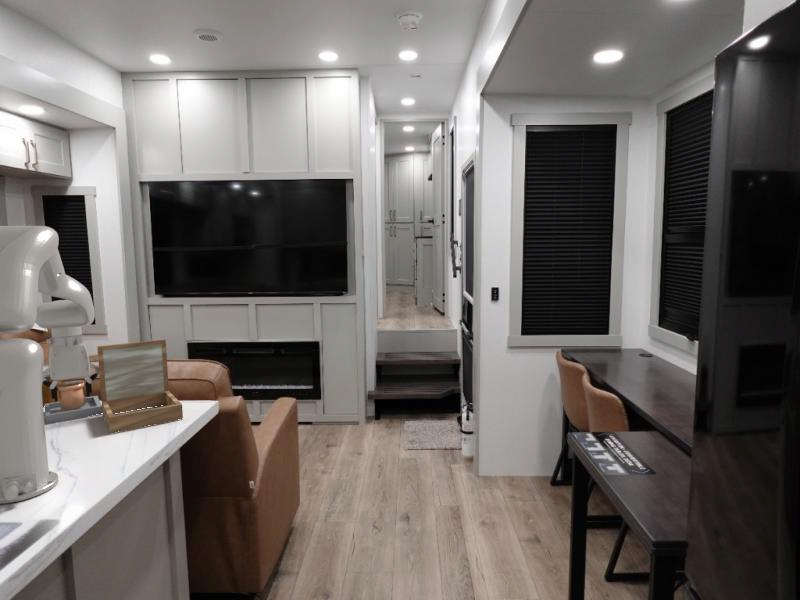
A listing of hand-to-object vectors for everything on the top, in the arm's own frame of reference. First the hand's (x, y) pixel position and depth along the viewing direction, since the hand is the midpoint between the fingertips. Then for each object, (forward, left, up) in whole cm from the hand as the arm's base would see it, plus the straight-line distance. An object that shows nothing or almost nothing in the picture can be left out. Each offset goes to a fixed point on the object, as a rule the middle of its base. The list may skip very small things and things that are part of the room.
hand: (72, 397), depth 151 cm
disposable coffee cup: (+16, +6, -5) cm, 18 cm away
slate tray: (0, 0, -5) cm, 5 cm away
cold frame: (-18, -16, -5) cm, 24 cm away
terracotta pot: (0, 0, -3) cm, 3 cm away
